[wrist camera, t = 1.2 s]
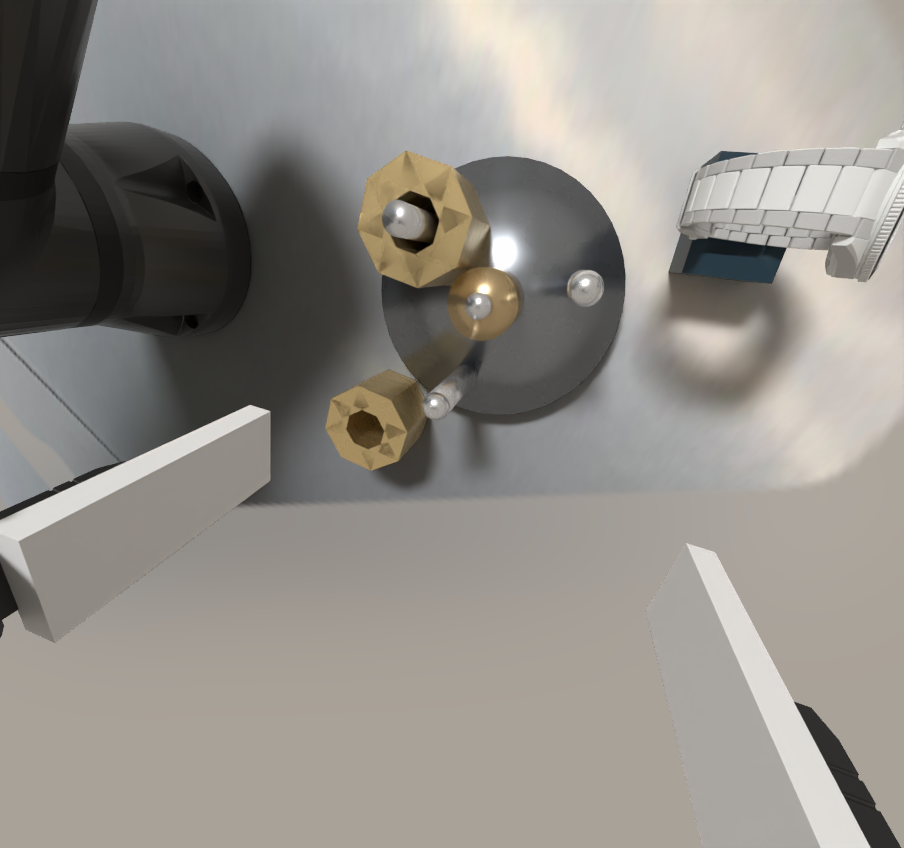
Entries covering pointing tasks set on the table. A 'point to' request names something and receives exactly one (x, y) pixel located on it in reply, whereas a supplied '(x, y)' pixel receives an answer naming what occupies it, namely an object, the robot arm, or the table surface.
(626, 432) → the table surface
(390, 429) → the planet gear
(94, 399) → the table surface
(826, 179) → the watch
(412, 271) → the planet gear
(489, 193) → the carrier
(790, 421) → the table surface
